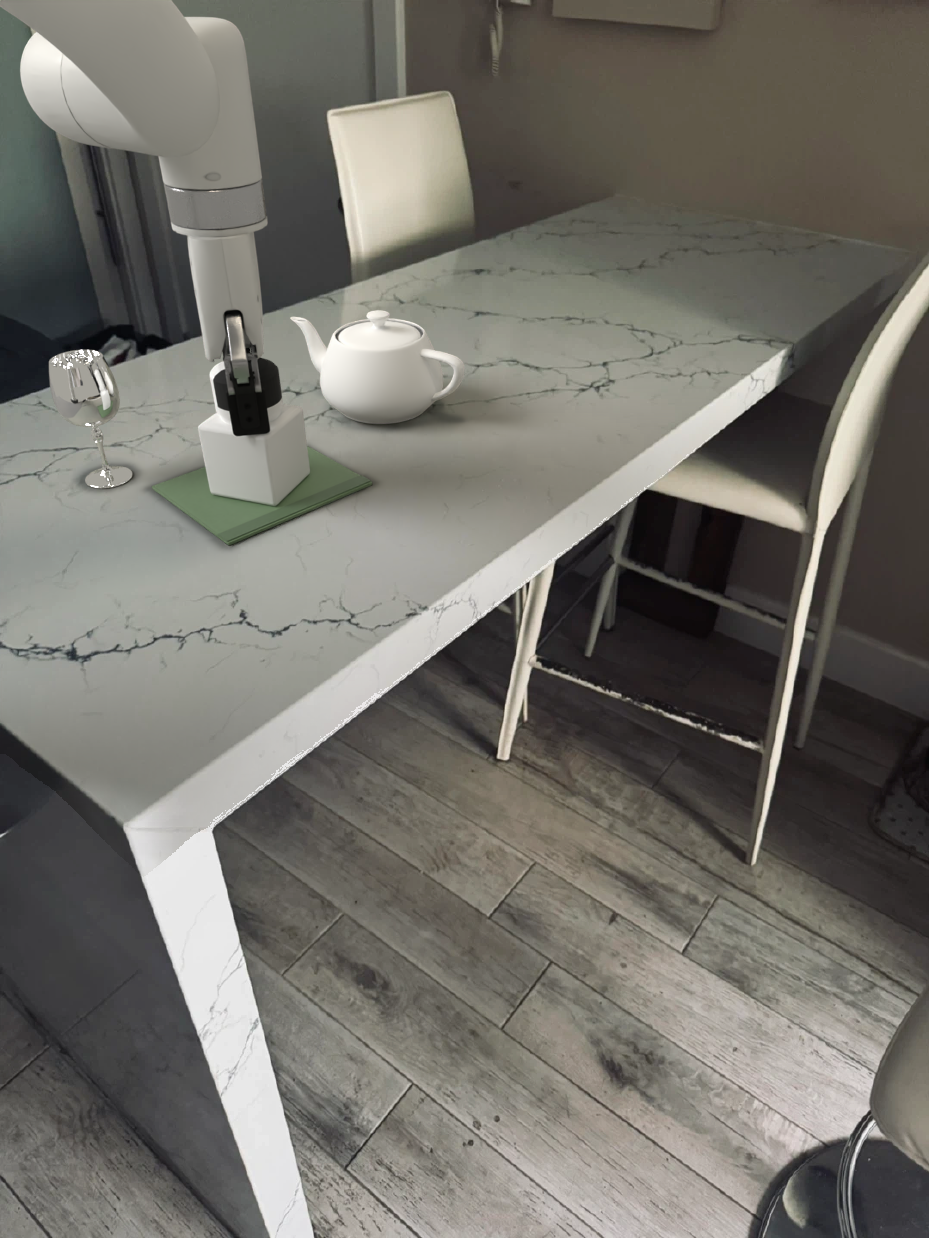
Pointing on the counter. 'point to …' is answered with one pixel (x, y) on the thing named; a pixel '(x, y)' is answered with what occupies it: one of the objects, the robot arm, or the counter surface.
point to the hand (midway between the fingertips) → (250, 413)
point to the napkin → (250, 518)
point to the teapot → (380, 368)
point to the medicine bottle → (254, 444)
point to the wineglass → (88, 404)
